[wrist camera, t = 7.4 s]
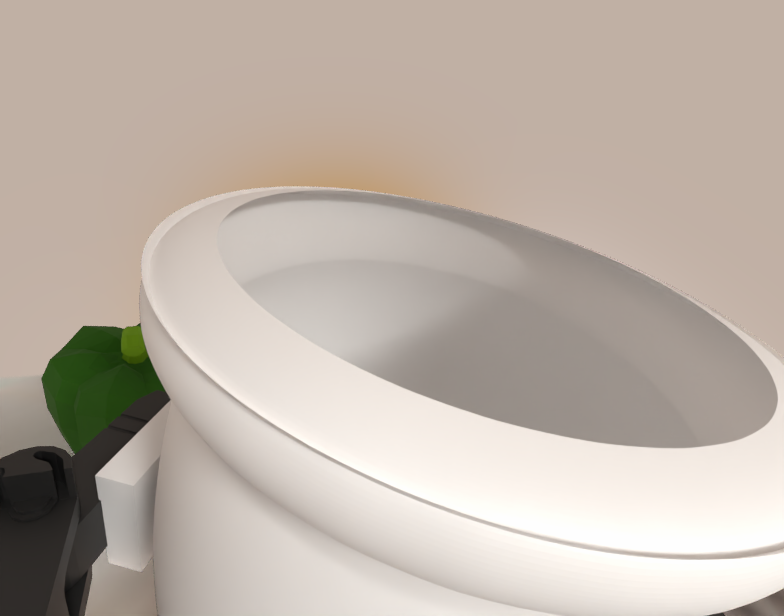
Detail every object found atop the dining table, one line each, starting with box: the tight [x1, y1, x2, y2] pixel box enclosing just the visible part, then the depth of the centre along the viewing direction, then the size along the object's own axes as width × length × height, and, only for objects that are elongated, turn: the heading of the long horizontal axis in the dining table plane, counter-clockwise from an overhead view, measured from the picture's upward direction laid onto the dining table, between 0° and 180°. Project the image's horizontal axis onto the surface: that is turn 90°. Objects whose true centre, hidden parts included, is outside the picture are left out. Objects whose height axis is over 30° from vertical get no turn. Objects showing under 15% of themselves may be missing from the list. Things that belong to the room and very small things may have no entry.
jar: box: [139, 187, 784, 616], centre depth 10 cm, size 11×10×15 cm
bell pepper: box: [42, 323, 166, 454], centre depth 24 cm, size 8×8×10 cm
